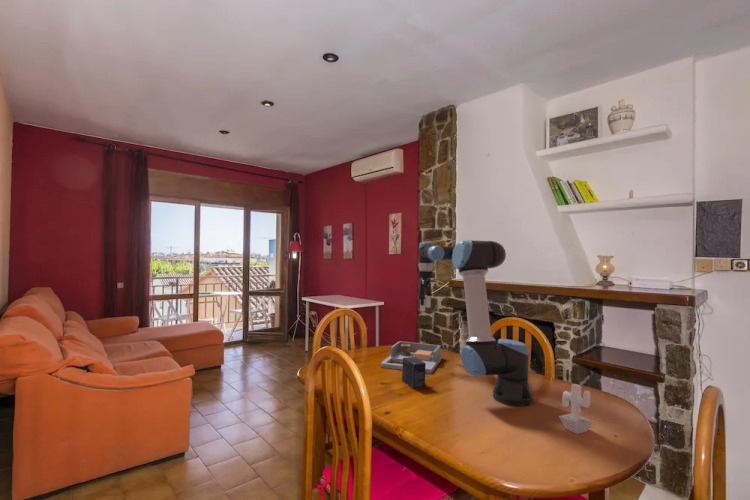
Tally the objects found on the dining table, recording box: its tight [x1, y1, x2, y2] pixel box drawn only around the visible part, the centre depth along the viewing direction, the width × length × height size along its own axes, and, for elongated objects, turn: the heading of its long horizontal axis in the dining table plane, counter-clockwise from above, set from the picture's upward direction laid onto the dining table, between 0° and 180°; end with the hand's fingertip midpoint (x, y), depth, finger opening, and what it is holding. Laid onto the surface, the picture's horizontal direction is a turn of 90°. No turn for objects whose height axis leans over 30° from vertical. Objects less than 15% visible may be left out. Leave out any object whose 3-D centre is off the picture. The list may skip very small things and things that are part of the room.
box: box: [401, 357, 426, 389], centre depth 165 cm, size 11×7×10 cm, turn 22°
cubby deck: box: [380, 340, 443, 374], centre depth 196 cm, size 26×28×7 cm
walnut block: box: [401, 344, 410, 356], centre depth 205 cm, size 5×5×5 cm
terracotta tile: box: [414, 350, 433, 361], centre depth 197 cm, size 8×8×3 cm
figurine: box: [558, 383, 594, 435], centre depth 123 cm, size 7×9×15 cm
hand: (425, 309), depth 202 cm, fingers open, 13 cm apart
